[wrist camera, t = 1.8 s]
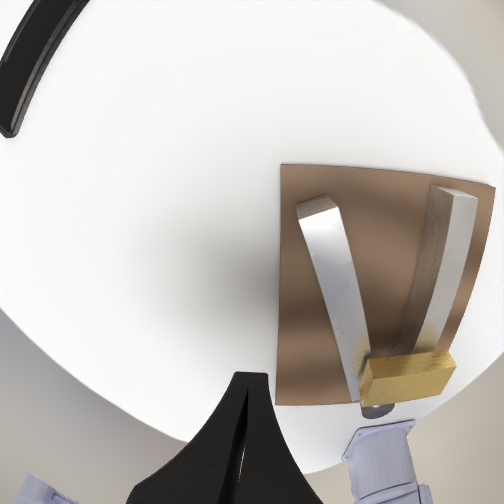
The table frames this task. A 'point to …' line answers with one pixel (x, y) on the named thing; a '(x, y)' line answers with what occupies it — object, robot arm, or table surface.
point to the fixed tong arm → (434, 275)
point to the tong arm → (337, 284)
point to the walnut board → (359, 270)
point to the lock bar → (405, 377)
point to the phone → (31, 56)
